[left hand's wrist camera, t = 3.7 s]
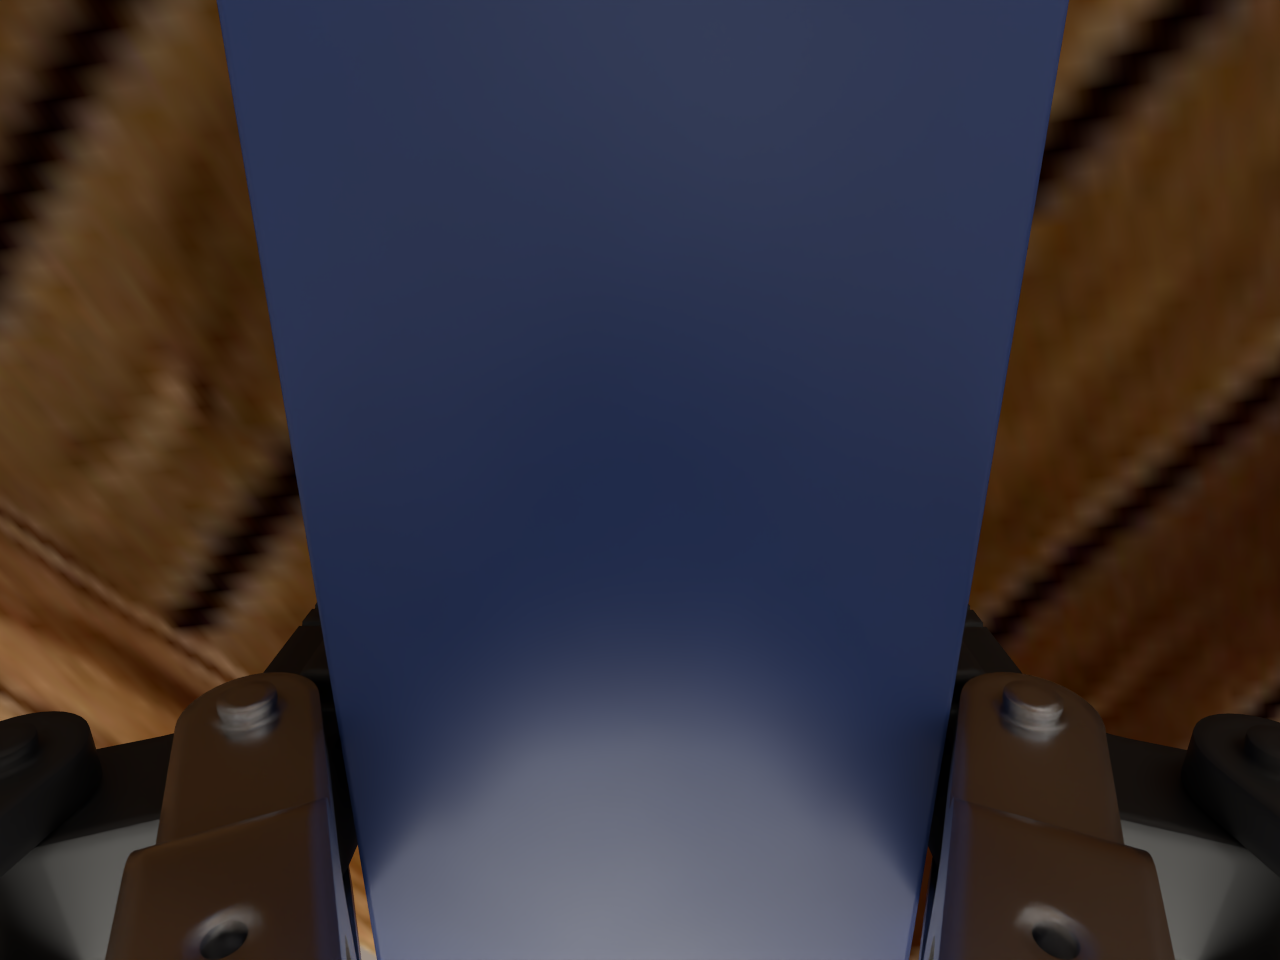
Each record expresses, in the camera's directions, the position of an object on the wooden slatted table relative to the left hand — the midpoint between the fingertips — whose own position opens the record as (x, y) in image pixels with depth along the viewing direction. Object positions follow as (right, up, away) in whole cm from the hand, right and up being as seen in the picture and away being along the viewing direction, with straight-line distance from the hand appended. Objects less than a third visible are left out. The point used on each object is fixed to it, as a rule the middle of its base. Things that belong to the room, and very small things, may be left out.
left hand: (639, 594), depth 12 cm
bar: (0, +11, +1) cm, 11 cm away
